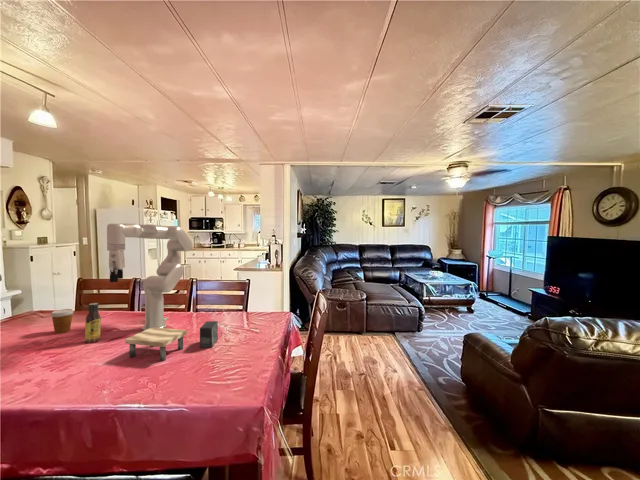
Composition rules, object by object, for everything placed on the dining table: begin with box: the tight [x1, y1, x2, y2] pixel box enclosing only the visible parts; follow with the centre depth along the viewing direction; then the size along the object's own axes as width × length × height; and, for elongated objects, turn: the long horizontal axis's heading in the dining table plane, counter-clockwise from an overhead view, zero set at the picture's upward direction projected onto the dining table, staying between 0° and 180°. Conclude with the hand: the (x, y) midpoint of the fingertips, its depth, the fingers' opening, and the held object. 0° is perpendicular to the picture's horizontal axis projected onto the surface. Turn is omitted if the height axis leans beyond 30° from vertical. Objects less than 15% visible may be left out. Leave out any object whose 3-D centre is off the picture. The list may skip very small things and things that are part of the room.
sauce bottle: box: [84, 302, 102, 344], centre depth 143 cm, size 7×6×20 cm
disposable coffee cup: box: [50, 308, 75, 335], centre depth 155 cm, size 10×10×12 cm
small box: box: [199, 320, 219, 349], centre depth 143 cm, size 11×6×10 cm, turn 5°
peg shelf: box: [124, 327, 188, 362], centre depth 131 cm, size 16×20×9 cm
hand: (116, 280), depth 141 cm, fingers open, 9 cm apart
